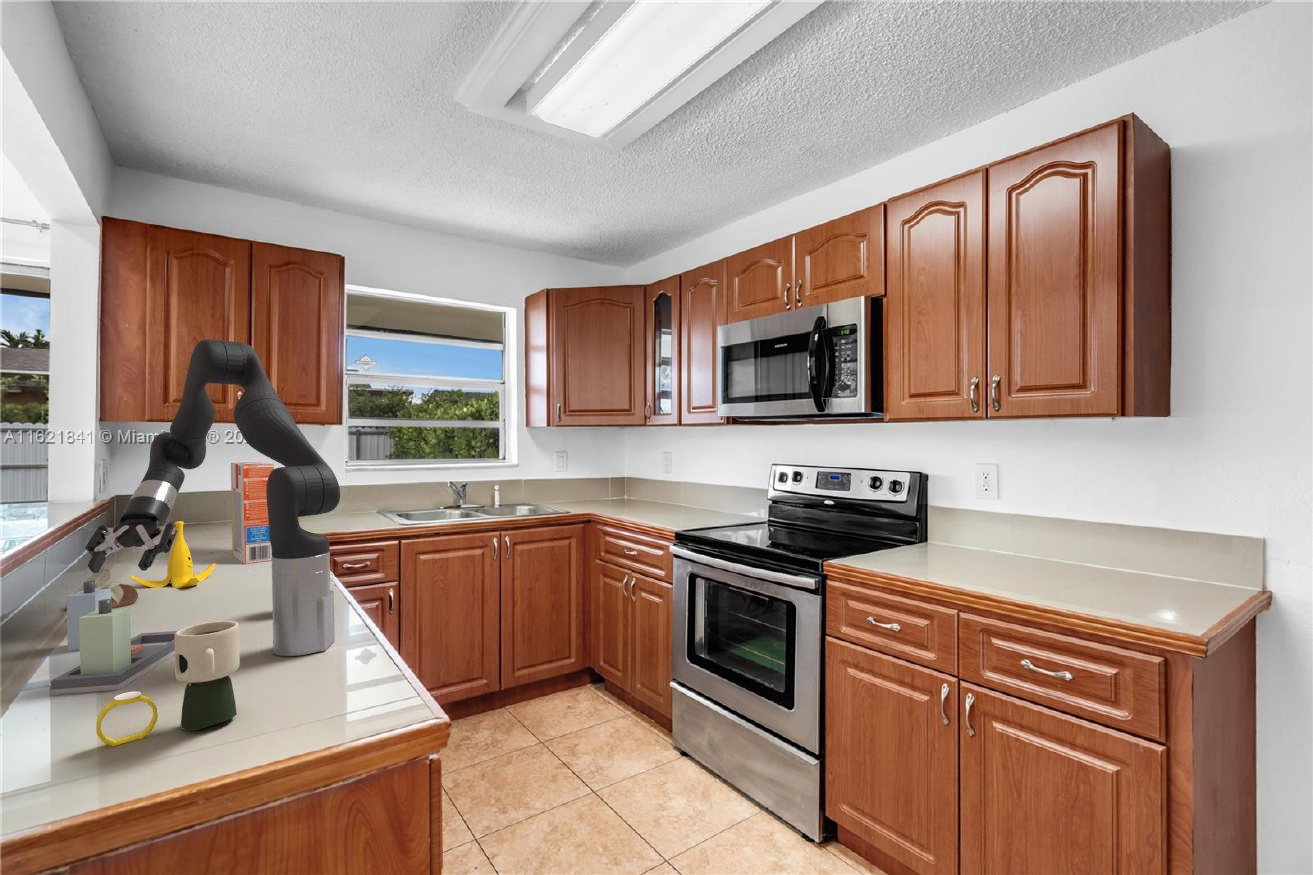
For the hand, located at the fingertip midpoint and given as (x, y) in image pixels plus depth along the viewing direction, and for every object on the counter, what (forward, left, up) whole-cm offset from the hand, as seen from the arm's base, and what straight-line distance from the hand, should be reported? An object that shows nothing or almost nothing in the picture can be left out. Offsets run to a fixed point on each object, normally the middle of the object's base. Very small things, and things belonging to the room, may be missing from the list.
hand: (117, 569), depth 127 cm
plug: (0, +8, -12) cm, 15 cm away
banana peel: (+12, -43, -13) cm, 46 cm away
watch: (-30, +52, -13) cm, 62 cm away
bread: (+16, -24, -13) cm, 31 cm away
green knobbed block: (-14, +28, -12) cm, 34 cm away
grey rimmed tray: (-14, +22, -12) cm, 29 cm away
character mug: (-38, +49, -13) cm, 63 cm away
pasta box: (+6, -79, -13) cm, 80 cm away
